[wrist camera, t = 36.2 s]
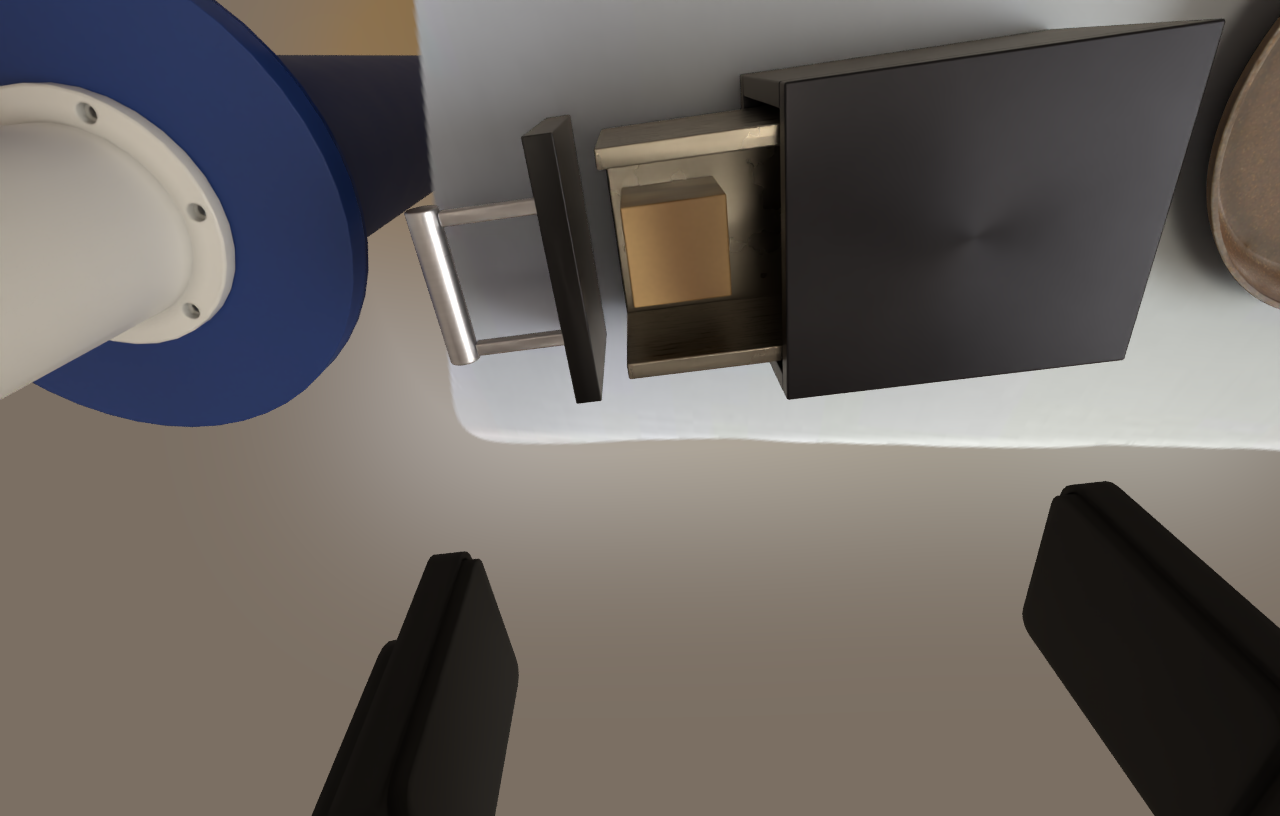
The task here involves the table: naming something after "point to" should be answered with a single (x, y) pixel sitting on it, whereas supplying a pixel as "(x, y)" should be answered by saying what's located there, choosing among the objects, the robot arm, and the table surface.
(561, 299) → the drawer
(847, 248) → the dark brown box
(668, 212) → the block
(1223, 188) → the plant saucer
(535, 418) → the table surface
